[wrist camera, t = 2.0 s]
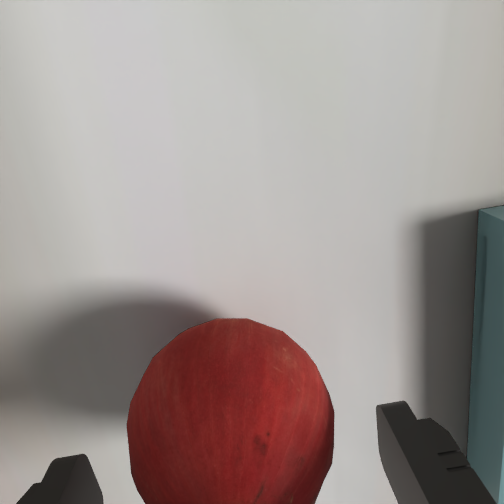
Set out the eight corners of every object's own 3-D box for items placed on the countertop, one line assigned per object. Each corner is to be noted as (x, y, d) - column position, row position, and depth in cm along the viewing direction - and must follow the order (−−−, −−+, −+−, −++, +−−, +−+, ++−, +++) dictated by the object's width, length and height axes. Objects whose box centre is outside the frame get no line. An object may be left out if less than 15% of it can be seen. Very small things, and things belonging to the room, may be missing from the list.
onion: (338, 346, 15) (445, 582, 8) (231, 432, 16) (234, 707, 9) (231, 244, 14) (236, 422, 6) (120, 348, 15) (11, 602, 7)
